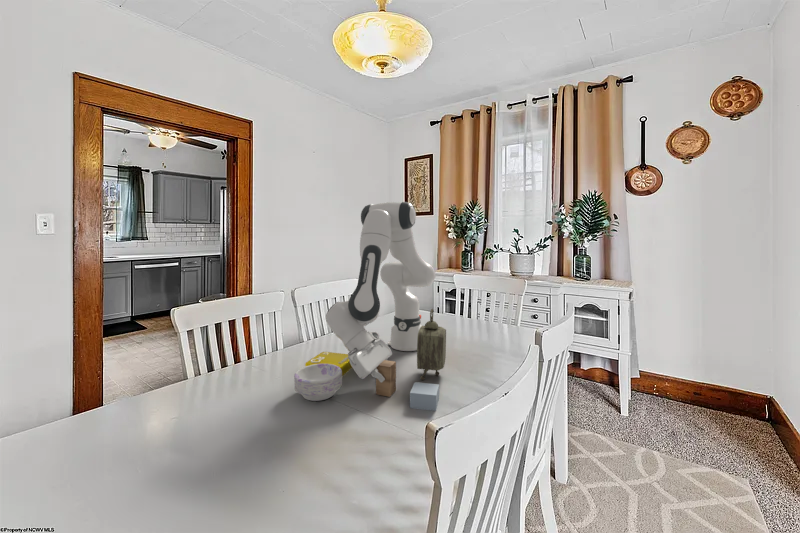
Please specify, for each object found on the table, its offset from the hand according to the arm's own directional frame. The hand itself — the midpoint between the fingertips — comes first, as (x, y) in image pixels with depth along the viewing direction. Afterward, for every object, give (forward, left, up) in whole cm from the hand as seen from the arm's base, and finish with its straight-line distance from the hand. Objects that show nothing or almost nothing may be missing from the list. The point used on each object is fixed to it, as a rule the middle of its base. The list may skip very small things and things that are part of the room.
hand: (387, 376), depth 122 cm
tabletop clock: (-20, +9, -6) cm, 23 cm away
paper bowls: (+9, -21, -6) cm, 23 cm away
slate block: (+2, +13, -6) cm, 15 cm away
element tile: (-12, -29, -6) cm, 32 cm away
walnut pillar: (0, -1, -5) cm, 5 cm away
